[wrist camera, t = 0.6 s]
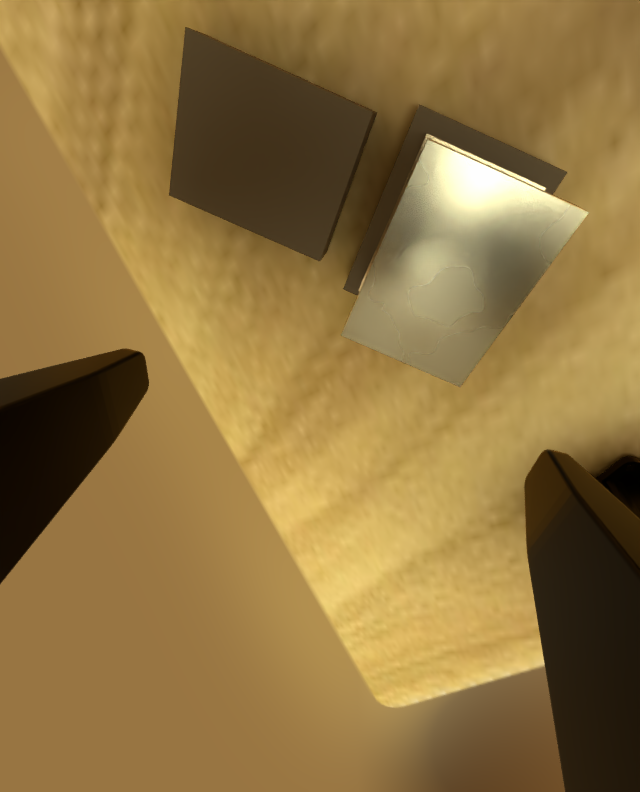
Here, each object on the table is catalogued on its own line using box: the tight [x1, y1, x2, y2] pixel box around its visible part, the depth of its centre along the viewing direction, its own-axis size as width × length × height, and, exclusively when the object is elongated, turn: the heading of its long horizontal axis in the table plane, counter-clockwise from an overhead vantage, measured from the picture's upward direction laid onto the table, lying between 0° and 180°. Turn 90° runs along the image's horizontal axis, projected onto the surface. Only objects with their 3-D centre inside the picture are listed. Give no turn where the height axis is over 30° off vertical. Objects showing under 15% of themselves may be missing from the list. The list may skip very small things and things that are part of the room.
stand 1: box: [169, 27, 377, 261], centre depth 16 cm, size 7×6×2 cm
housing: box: [341, 133, 589, 387], centre depth 14 cm, size 4×6×6 cm
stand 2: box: [343, 105, 567, 295], centre depth 17 cm, size 6×7×2 cm
